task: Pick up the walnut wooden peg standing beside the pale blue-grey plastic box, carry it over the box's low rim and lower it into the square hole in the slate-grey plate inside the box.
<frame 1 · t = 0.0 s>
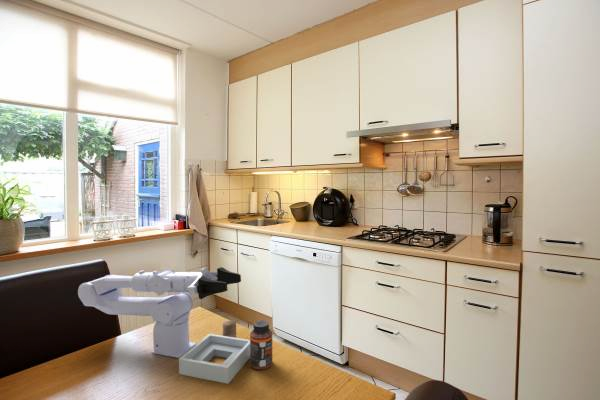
hand: (233, 282, 88), 22 cm above the table, tool horizontal, fingers open, 7 cm apart
peg: (229, 342, 99), on the table
supplement bottle: (261, 365, 87), on the table
bore box: (217, 363, 87), on the table
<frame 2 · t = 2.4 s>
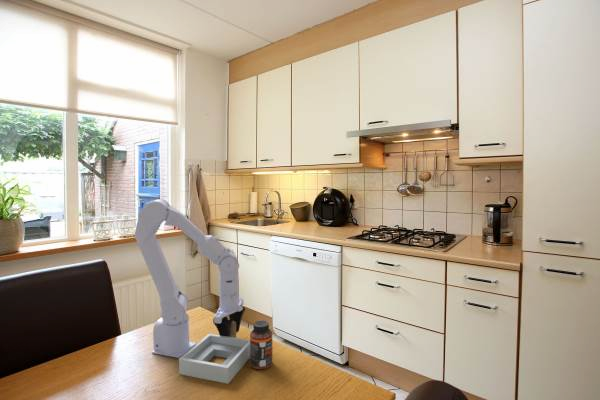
hand: (230, 336, 99), 2 cm above the table, tool pointing down, fingers open, 6 cm apart
nothing on the table moved.
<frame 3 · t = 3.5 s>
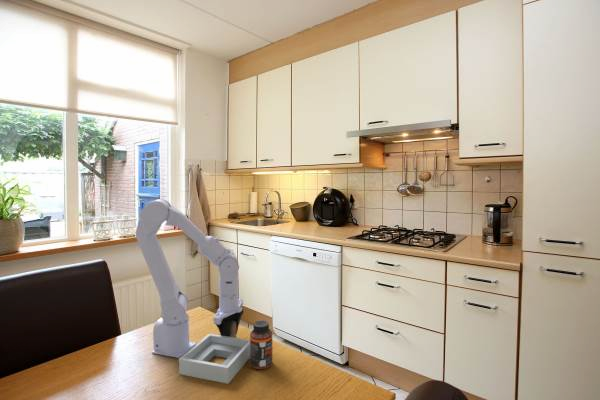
hand: (229, 337, 98), 2 cm above the table, tool pointing down, fingers closed on peg, 4 cm apart
peg: (229, 342, 99), on the table, touching gripper
everything else where it was.
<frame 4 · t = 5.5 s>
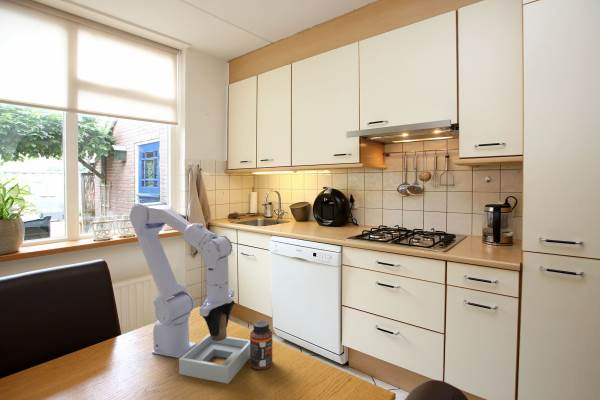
hand: (218, 331, 88), 8 cm above the table, tool pointing down, fingers closed on peg, 4 cm apart
peg: (219, 337, 88), point 7 cm above the table, touching gripper
everything else where it was.
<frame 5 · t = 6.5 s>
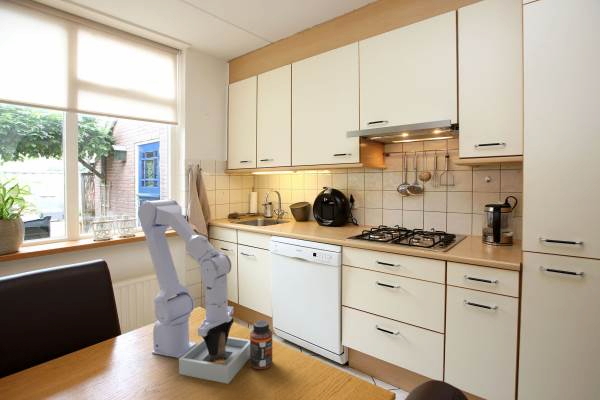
hand: (217, 350, 87), 4 cm above the table, tool pointing down, fingers closed on peg, 4 cm apart
peg: (218, 356, 87), point 2 cm above the table, touching gripper
everything else where it was.
when the fingers open (3 cm above the table, at t = 7.5 s): peg drops 1 cm, resting in bore box.
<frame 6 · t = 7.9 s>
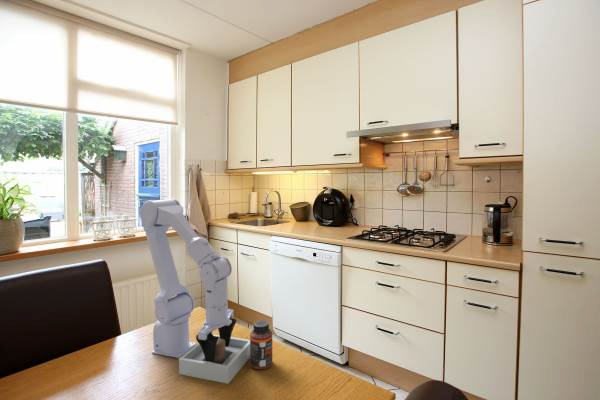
hand: (217, 353, 87), 3 cm above the table, tool pointing down, fingers open, 7 cm apart
peg: (218, 363, 87), resting in bore box
everything else where it was.
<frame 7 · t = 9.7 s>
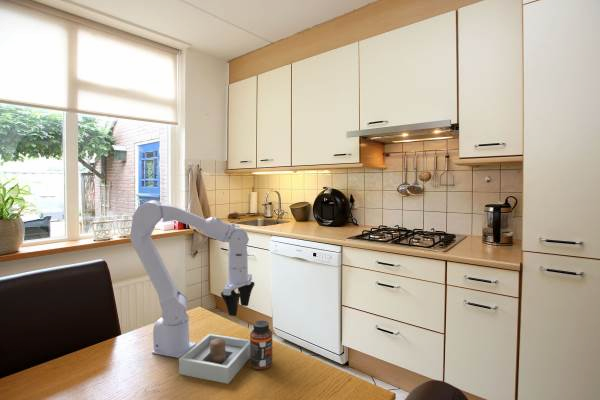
hand: (238, 310, 99), 9 cm above the table, tool pointing down, fingers open, 7 cm apart
nothing on the table moved.
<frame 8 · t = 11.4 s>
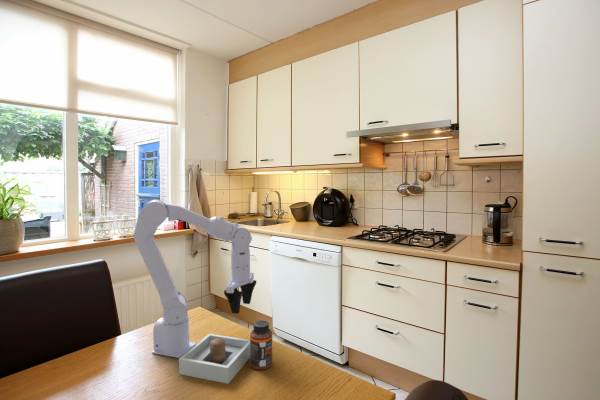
hand: (241, 308, 101), 9 cm above the table, tool pointing down, fingers open, 7 cm apart
nothing on the table moved.
at the end: peg 0.1 cm from the bore box (horizontally); peg resting in bore box; peg tilted 0° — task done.
